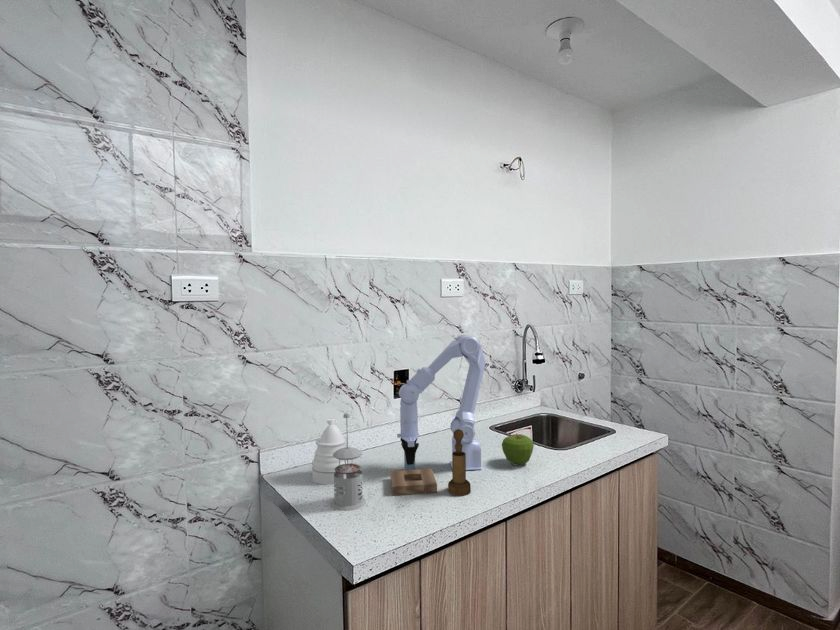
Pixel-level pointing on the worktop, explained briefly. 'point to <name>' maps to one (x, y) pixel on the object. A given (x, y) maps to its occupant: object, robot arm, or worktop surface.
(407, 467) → the peg
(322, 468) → the honey pot
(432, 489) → the socket block
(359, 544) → the worktop surface
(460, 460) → the mortar and pestle
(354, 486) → the french press
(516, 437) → the apple
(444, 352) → the robot arm
